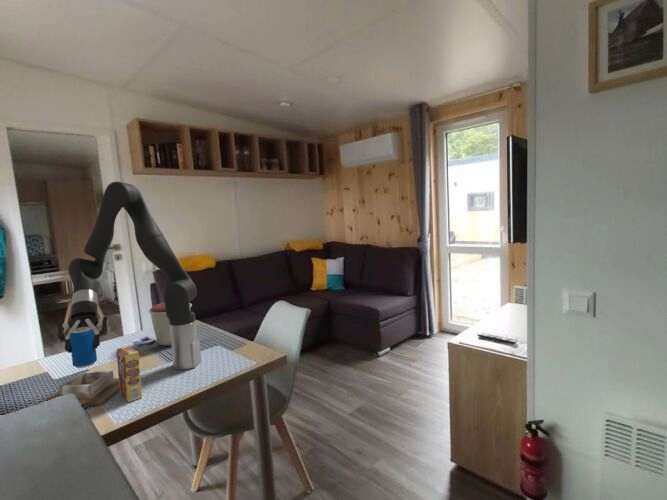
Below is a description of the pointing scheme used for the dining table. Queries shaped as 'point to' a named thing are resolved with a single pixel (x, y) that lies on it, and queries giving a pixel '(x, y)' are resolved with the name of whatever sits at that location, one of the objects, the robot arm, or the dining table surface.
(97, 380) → the guard socket
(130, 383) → the candy box
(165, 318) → the canister
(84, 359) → the beverage can
